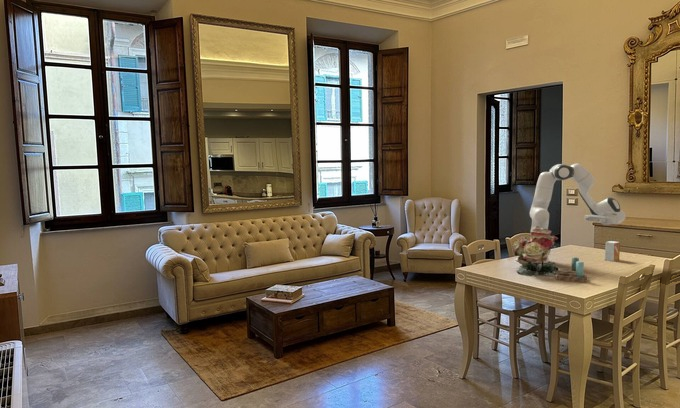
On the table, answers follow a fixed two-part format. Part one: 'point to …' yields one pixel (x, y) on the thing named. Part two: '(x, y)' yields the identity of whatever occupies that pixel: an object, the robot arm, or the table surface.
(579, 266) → the dowel
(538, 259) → the rose bouquet
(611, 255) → the small box
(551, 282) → the table surface
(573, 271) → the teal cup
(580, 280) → the socket board
